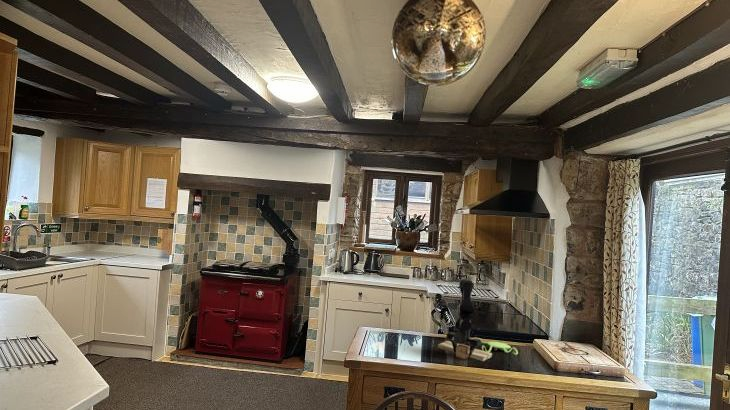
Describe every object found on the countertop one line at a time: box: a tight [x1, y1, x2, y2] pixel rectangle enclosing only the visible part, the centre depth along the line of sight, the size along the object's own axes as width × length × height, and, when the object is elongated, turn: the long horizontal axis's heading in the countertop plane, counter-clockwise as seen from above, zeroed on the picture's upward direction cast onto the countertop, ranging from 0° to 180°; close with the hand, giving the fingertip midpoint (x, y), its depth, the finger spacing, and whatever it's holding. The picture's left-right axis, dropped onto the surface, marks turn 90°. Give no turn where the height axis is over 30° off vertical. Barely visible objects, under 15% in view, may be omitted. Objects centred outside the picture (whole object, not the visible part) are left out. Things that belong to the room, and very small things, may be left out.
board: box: [437, 340, 493, 362], centre depth 271 cm, size 12×28×2 cm, turn 52°
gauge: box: [455, 343, 470, 360], centre depth 266 cm, size 16×5×6 cm, turn 142°
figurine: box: [472, 337, 519, 356], centre depth 281 cm, size 18×26×6 cm
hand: (462, 354), depth 262 cm, fingers open, 9 cm apart
